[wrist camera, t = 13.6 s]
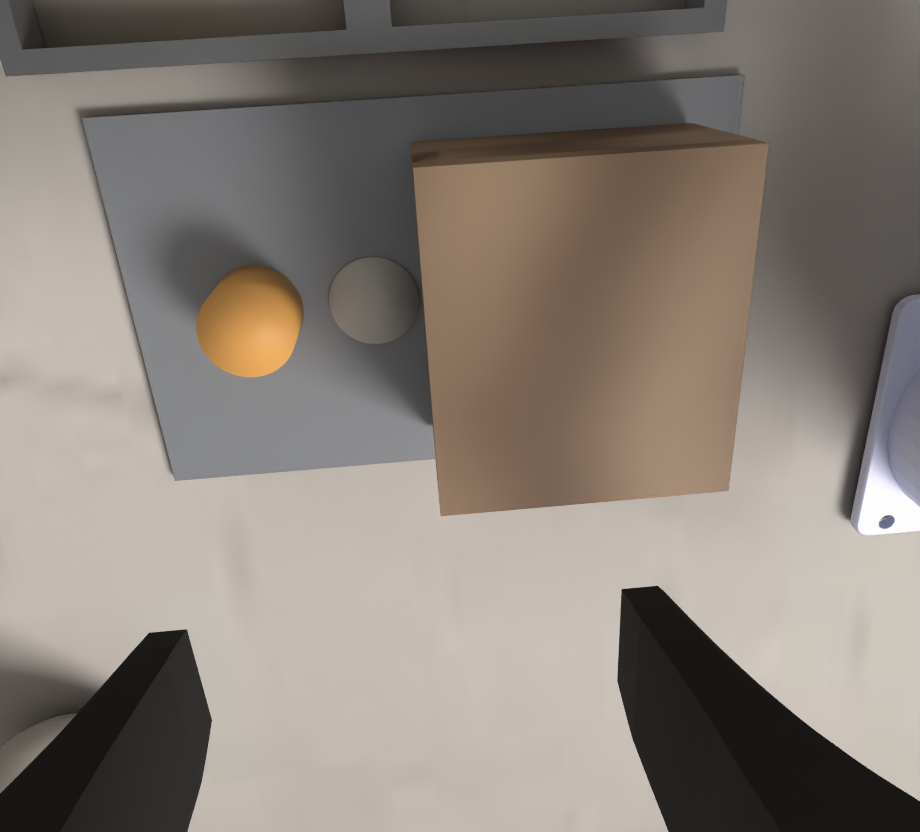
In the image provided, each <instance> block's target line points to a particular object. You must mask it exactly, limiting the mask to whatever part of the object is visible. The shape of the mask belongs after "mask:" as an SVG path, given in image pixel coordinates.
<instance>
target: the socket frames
mask: <svg viewBox="0 0 920 832" xmlns="http://www.w3.org/2000/svg"><path fill="white" fill-rule="evenodd" d="M343 2H344V12H345V21H346V30H334V31H317V32H301V33H285V34H268V35H252V36H236V37H220V38H203V39H187V40H171V41H154V42H138V43H122V44H106V45H89V46H73V47H57V48H44V44H43V40H42V36H41V33H40V29H39V25H38V21H37V18H36V14H35V10H34V6H33V3H32V0H0V59H1V62H2V66H3V69H4V72H5V76H20V75H36V74H52V73H68V72H84V71H100V70H116V69H131V68H147V67H163V66H179V65H195V64H211V63H227V62H243V61H259V60H275V59H291V58H307V57H323V56H339V55H355V54H371V53H386V52H402V51H418V50H434V49H450V48H466V47H482V46H498V45H514V44H530V43H546V42H562V41H578V40H594V39H610V38H626V37H641V36H657V35H673V34H689V33H705V32H721V31H724V25H725V13H726V2H727V0H687V3H686V9H676V10H659V11H643V12H627V13H610V14H594V15H578V16H562V17H545V18H529V19H513V20H496V21H480V22H464V23H448V24H431V25H415V26H399V27H392V18H391V6H390V0H343Z"/></svg>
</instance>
